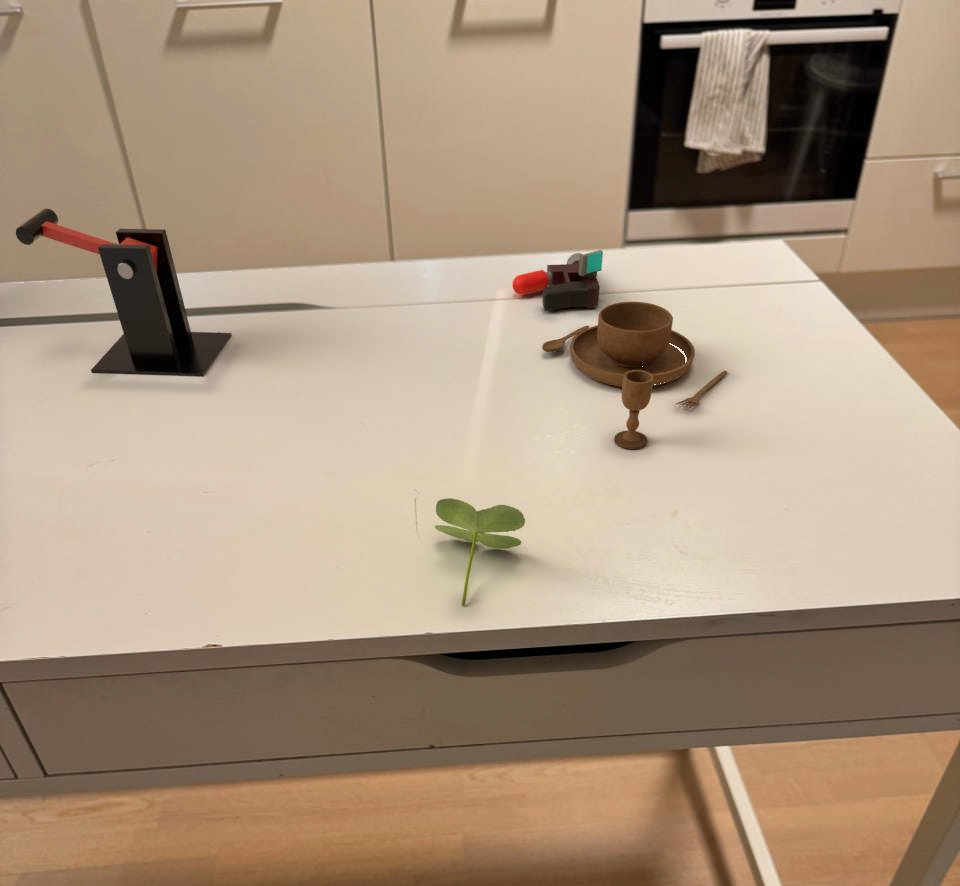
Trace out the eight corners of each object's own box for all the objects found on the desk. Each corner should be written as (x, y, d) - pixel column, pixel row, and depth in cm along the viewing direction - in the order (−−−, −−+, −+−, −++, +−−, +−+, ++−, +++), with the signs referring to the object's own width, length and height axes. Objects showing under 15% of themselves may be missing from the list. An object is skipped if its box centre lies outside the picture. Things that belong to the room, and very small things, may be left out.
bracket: (94, 381, 83) (51, 255, 75) (130, 341, 90) (94, 220, 82) (205, 385, 82) (173, 257, 74) (233, 344, 89) (207, 222, 81)
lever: (16, 246, 77) (14, 219, 75) (42, 227, 81) (40, 201, 79) (142, 286, 78) (143, 261, 77) (162, 266, 82) (163, 241, 80)
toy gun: (589, 270, 102) (592, 227, 99) (605, 312, 94) (609, 266, 90) (507, 273, 102) (508, 230, 99) (516, 315, 93) (517, 269, 90)
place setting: (741, 365, 84) (754, 305, 80) (643, 455, 72) (651, 390, 68) (586, 322, 92) (590, 265, 88) (474, 397, 80) (473, 335, 76)
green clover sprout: (466, 628, 64) (481, 546, 66) (537, 616, 58) (552, 526, 60) (386, 598, 60) (404, 511, 62) (453, 581, 54) (471, 486, 56)
